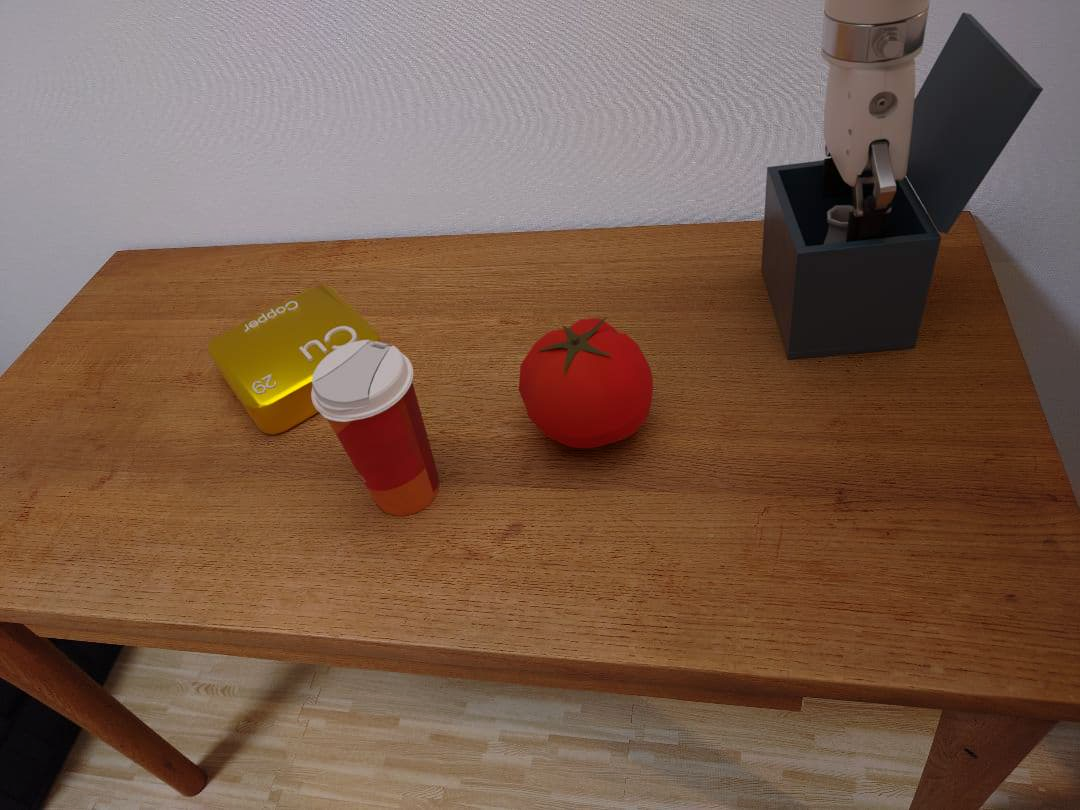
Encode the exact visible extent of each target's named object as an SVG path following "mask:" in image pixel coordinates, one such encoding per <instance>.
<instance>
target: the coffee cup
mask: <svg viewBox="0 0 1080 810" xmlns="http://www.w3.org/2000/svg"><path fill="white" fill-rule="evenodd" d="M413 379H414V367H413V364H412V362H411V360H410V359H409V357H407V356H406V355H405V354H404V353H402V352H401V351H400V349H398V347H397V346H395V345H393V344H392V345H389V343H385V342H382V341H381V342H377V341H375V342H371V340H362V341H356V342H353V343H349V344H347V345H344V346H342V347H340V348H338V349H336V350H334V351H333V352H331V353H330V354H329V355H327V356H326V357H325V358H324V359H323V360H322V361H321V362H320V363H319V365H318V366H317V368H316V369H315V371H314V374H313V378H312V392H311V397H312V402H313V405H314V406H315V408H316V409H317V410H318V411H319V412H318V413H320V415H322V417H323V418H324V419H326V420H327V422H328V424H329V426H330V427H331V429H332V431H333V432H334V434H335V436H336V438H337V439H338V441H339V443H340V444H341V446H342V448H343V449H344V451H345V453H346V455H347V457H348V459H349V460H350V462H351V463H352V465H353V467H354V469H355V470H356V472H357V474H358V475H359V478H360V479H361V480H362V482H363V483H364V486H365V487H366V489H367V490H368V492H369V494H370V495H371V497H372V499H373V500H374V502H375V503H376V505H377V507H378V508H380V509H381V510H382V511H383V512H384V513H386V514H388V515H391V516H395V517H406V516H410V515H414V514H416V513H418V512H420V511H422V510H424V509H425V508H427V507H428V506H429V505H430V504H431V503H432V502H433V501H434V500H435V498H436V496H437V494H438V492H439V489H440V480H439V475H438V471H437V466H436V462H435V459H434V455H433V452H432V451H433V450H432V447H431V444H430V440H429V436H428V433H427V429H426V425H425V423H424V419H423V416H422V411H421V408H420V405H419V401H418V397H417V393H416V390H415V386H414V383H413Z"/></svg>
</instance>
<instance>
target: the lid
mask: <svg viewBox="0 0 1080 810" xmlns="http://www.w3.org/2000/svg"><path fill="white" fill-rule="evenodd" d="M1043 90H1044V88H1043V87H1042V85H1040V84H1039V82H1037V81H1036V80H1035V79H1034V77H1032V75H1030V74H1029V72H1028V71H1027V70H1026V69H1025V68H1024V67H1023V66H1022V65H1021V64H1020V63H1019V62H1018V61H1017V60H1016V59H1015V58H1014V57H1013V56H1012V55H1011V54H1010V53H1009V51H1007V50H1006V49H1005V48H1004V46H1002V45H1001V44H1000V43H999V42H998V40H997V39H995V37H994V36H992V35H991V33H990V32H989V31H988V30H987V29H986V28H985V27H984V26H983V25H982V23H980V22H979V21H978V20H977V19H976V18H975V17H974V16H973V15H972V14H971V13H969V12H961V14H960V17H959V18H958V20H957V22H956V23H955V26H954V27H953V29H952V31H951V33H950V34H949V37H948V38H947V40H946V42H945V44H944V46H943V47H942V49H941V51H940V53H939V54H938V56H937V58H936V60H935V62H934V64H933V66H932V67H931V69H930V71H929V73H928V75H927V76H926V78H925V80H924V82H923V83H922V85H921V87H920V89H919V91H918V92H917V94H916V96H915V99H914V113H913V123H912V133H911V142H910V151H909V159H908V167H907V173H906V178H907V180H908V182H909V183H910V185H911V187H912V188H913V190H914V192H915V193H916V195H917V197H918V199H919V200H920V202H921V204H922V205H923V207H924V209H925V211H926V212H927V214H928V216H929V217H930V219H931V221H932V223H933V224H934V226H935V228H936V229H937V231H938V233H941V234H948V233H949V232H950V230H951V229H952V227H953V226H954V224H955V223H956V221H958V218H959V217H960V216H961V214H962V212H964V209H965V208H966V206H967V205H968V204H969V202H970V200H971V199H972V197H973V196H974V194H975V193H976V191H977V190H978V188H979V187H980V185H981V184H982V183H983V181H984V180H985V178H986V176H987V174H988V173H989V172H990V170H991V169H992V167H993V166H994V164H995V163H996V161H997V160H998V158H999V157H1000V155H1001V154H1002V152H1003V151H1004V149H1005V147H1006V146H1007V144H1008V143H1009V141H1010V140H1011V139H1012V137H1013V136H1014V134H1015V132H1016V131H1017V129H1018V128H1019V126H1020V125H1021V123H1022V122H1023V121H1024V119H1025V118H1026V117H1027V115H1028V113H1029V112H1030V110H1031V109H1032V107H1033V105H1034V104H1035V102H1036V101H1037V100H1038V98H1039V96H1040V95H1041V93H1042V92H1043Z"/></svg>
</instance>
